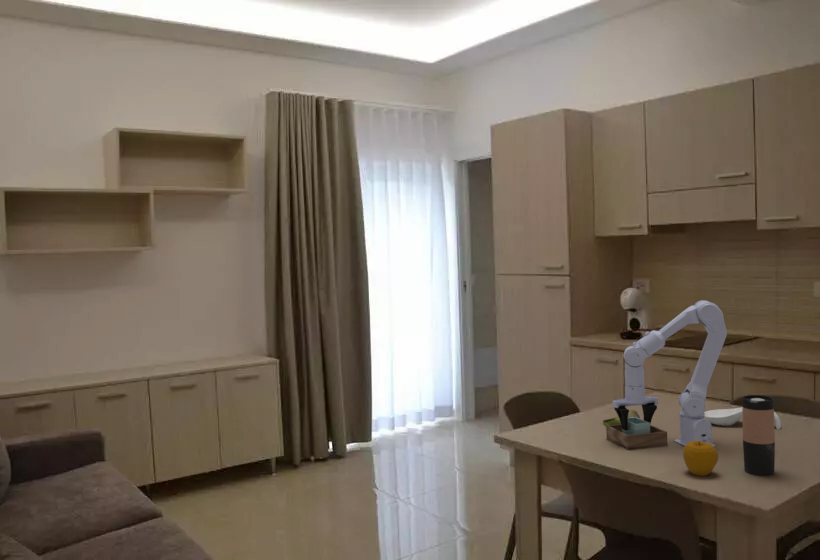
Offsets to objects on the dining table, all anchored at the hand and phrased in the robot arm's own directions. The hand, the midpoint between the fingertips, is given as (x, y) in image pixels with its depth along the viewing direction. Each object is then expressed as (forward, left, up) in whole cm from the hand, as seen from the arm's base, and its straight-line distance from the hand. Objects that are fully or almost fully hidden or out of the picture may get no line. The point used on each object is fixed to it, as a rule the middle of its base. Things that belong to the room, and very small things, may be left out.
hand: (635, 428), depth 219 cm
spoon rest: (+7, -42, -5) cm, 43 cm away
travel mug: (-36, -15, -5) cm, 39 cm away
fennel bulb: (+20, -13, -2) cm, 24 cm away
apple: (-32, 0, -5) cm, 32 cm away
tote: (0, 0, -4) cm, 4 cm away
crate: (0, 0, -5) cm, 5 cm away
